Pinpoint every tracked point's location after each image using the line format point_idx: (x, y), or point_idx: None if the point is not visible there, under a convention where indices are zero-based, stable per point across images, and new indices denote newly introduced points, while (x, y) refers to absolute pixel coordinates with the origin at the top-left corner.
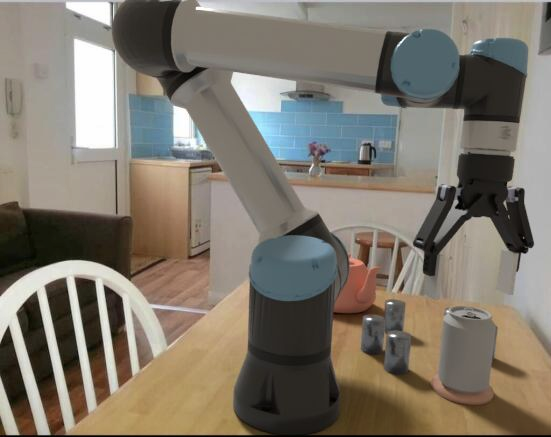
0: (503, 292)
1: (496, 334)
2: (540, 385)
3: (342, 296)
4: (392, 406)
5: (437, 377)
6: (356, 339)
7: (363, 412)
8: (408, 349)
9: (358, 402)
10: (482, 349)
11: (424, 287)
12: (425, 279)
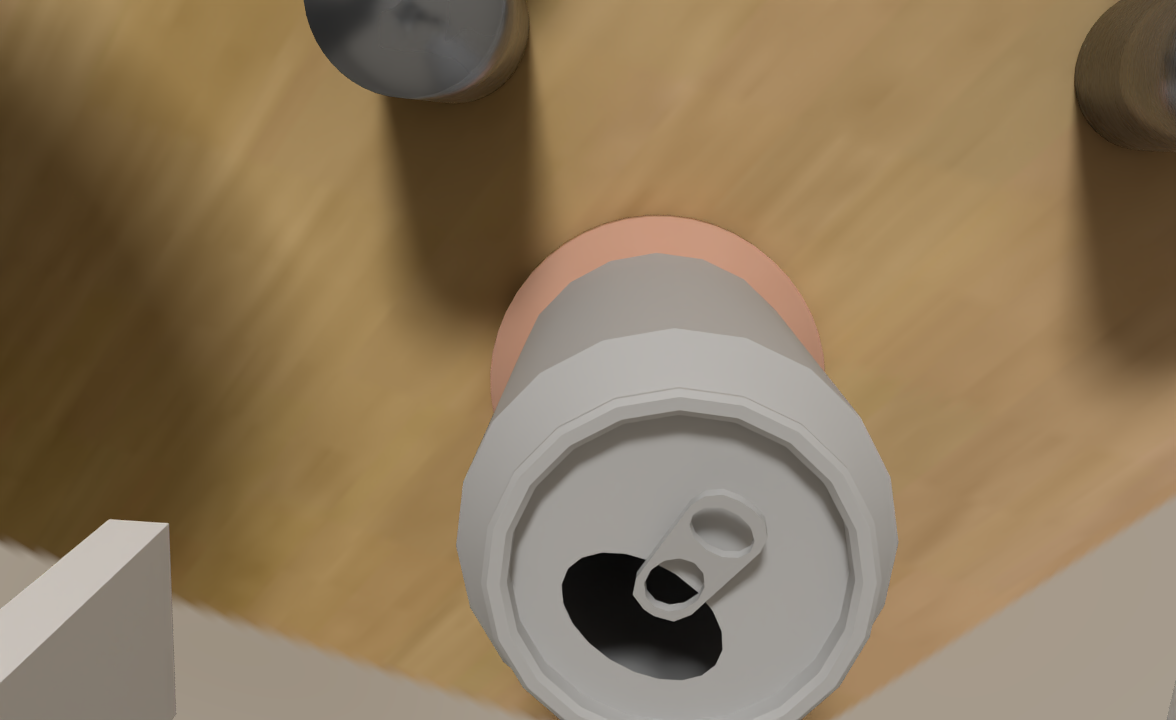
0: (1170, 706)
1: None
2: (1140, 485)
3: None
4: (183, 388)
5: (583, 263)
6: None
7: (12, 386)
8: (454, 94)
9: (28, 297)
10: (634, 653)
11: (64, 561)
12: (3, 613)
